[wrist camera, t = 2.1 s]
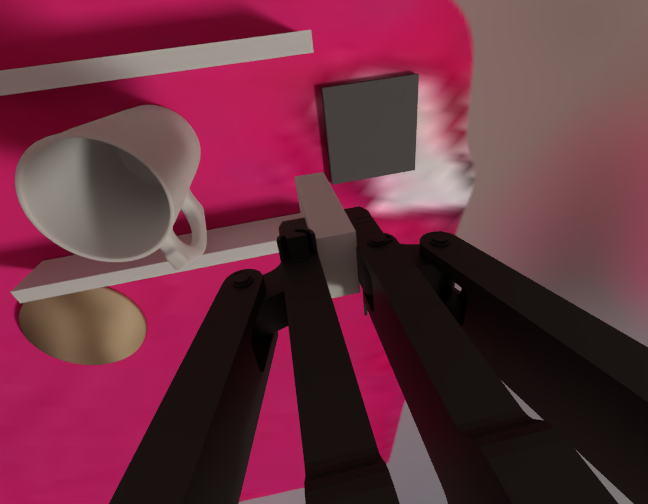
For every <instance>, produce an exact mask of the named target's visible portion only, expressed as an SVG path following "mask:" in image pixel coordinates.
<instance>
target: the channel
mask: <svg viewBox="0 0 648 504" xmlns="http://www.w3.org/2000/svg"><path fill="white" fill-rule="evenodd" d="M306 53H313V43H312V34H311V30H306V31H298V32H290V33H283V34H275V35H267V36H260V37H252V38H245V39H237V40H229V41H222V42H214V43H207V44H199V45H191V46H184V47H176V48H169V49H161V50H153V51H146V52H138V53H130V54H123V55H115V56H108V57H100V58H92V59H85V60H77V61H70V62H62V63H54V64H47V65H39V66H32V67H24V68H16V69H9V70H1V71H0V96H3V95H10V94H17V93H24V92H31V91H39V90H46V89H53V88H60V87H68V86H75V85H82V84H89V83H96V82H104V81H111V80H118V79H125V78H133V77H140V76H147V75H154V74H162V73H169V72H176V71H183V70H190V69H198V68H205V67H212V66H219V65H227V64H234V63H241V62H248V61H255V60H263V59H270V58H277V57H284V56H292V55H299V54H306ZM298 218H301V213H297V214H292V215H286V216H281V217H275V218H270V219H265V220H259V221H254V222H249V223H243V224H238V225H232V226H227V227H222V228H216V229H211V230H206V231H207V244H206V249H205V251H204V253H203V255H202V256H201V257H200V258H198V259H197V260H195V261H193V262H191V263H189V264H188V265H187V266H186V267H185V268H183V269H181V270H176V269H174V268H173V266H172V265H171V264H170V263H169V262H168V261H167V260H166V258H165V255H164V253H163V252H162V251H161V250H160V249H158V250H156V251H155V252H153V253H152V254H150V255H148V256H146V257H143V258H140V259H137V260H133V261H127V262H104V261H97V260H93V259H89V258H85V257H82V256H79V255H71V256H66V257H60V258H55V259H50V260H44V261H42V262H41V263H40V264H39V265H38V266H37V267H36V268H35V269H34V270H32V271H31V272H30V273H29V274H28V275H27V276H26V277H25V278H24V279H23V280H22V281H21V282H20V283H19V284H18V285H17V286H16V287H15V288H14V289H13V290H12V291H11V293H12V294H13V295H14V297H15V298H16V299H17V300H18V301H19V303H24V302H29V301H34V300H39V299H44V298H50V297H55V296H60V295H65V294H70V293H75V292H80V291H85V290H90V289H95V288H100V287H105V286H111V285H116V284H121V283H126V282H131V281H136V280H141V279H146V278H151V277H156V276H161V275H166V274H172V273H177V272H182V271H187V270H192V269H197V268H202V267H207V266H212V265H217V264H222V263H227V262H233V261H238V260H243V259H248V258H253V257H258V256H263V255H268V254H273V253H278V252H279V250H278V246H277V241H276V240H277V237H278V236H279V226H280V224H281V223H282V221H287V220H293V219H298ZM177 237H178V238H179V239H180V240H181V241H182V242H183V243H184V244H187V245H190V244H191V242H192V233H189V234H184V235H179V236H177Z"/></svg>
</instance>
